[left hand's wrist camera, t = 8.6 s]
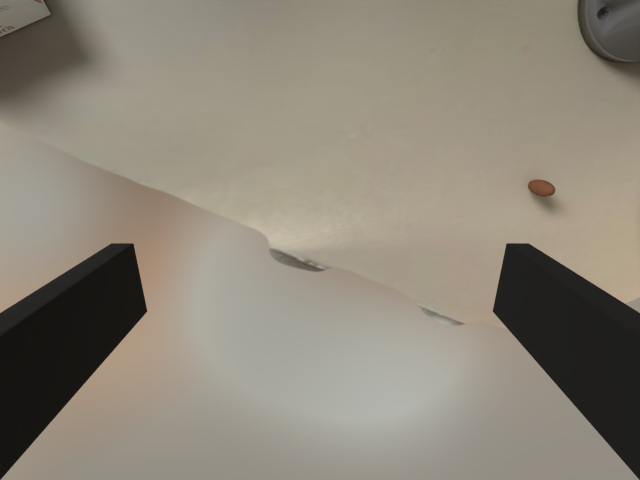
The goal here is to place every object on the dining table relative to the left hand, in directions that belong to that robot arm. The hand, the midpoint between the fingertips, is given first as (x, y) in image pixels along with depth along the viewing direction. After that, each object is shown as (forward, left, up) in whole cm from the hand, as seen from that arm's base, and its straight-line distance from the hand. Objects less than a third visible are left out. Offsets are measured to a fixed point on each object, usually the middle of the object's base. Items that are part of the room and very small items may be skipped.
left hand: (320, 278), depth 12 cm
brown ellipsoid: (-30, -6, -37) cm, 48 cm away
